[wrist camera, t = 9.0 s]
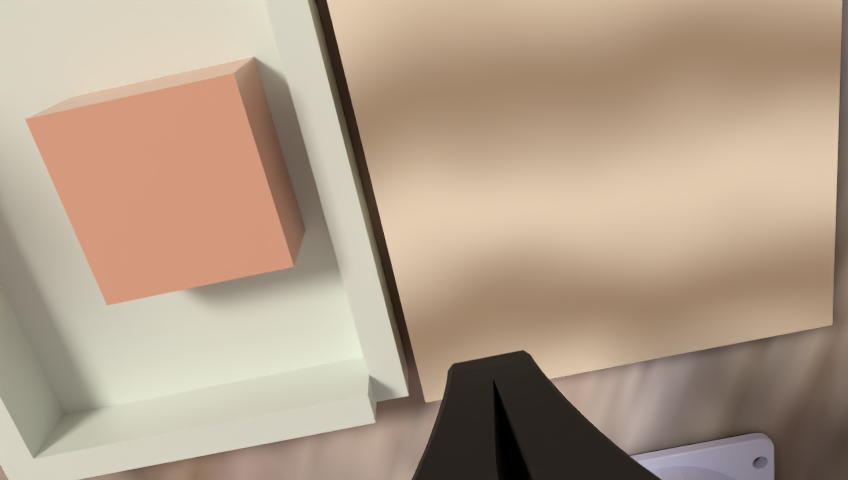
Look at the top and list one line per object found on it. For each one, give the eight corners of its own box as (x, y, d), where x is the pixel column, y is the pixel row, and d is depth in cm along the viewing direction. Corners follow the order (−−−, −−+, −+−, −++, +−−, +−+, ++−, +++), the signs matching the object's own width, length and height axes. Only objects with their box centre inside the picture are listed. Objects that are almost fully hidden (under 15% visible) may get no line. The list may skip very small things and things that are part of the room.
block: (305, 230, 20) (294, 266, 18) (139, 265, 21) (106, 305, 18) (253, 56, 18) (233, 72, 16) (70, 97, 19) (24, 119, 16)
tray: (407, 368, 23) (409, 416, 20) (53, 437, 23) (15, 491, 21) (265, -198, 16) (245, -220, 14) (-214, -85, 17) (-310, -90, 15)
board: (796, 293, 22) (832, 325, 20) (423, 365, 23) (425, 402, 21) (800, -321, 16) (853, -356, 14) (286, -202, 16) (272, -220, 15)
